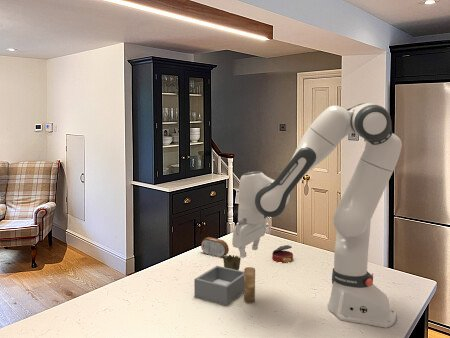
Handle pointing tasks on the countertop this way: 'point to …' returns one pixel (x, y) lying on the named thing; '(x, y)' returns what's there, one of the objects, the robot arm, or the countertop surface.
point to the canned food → (282, 254)
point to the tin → (214, 247)
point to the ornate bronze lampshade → (232, 262)
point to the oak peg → (249, 285)
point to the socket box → (219, 285)
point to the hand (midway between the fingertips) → (249, 253)
